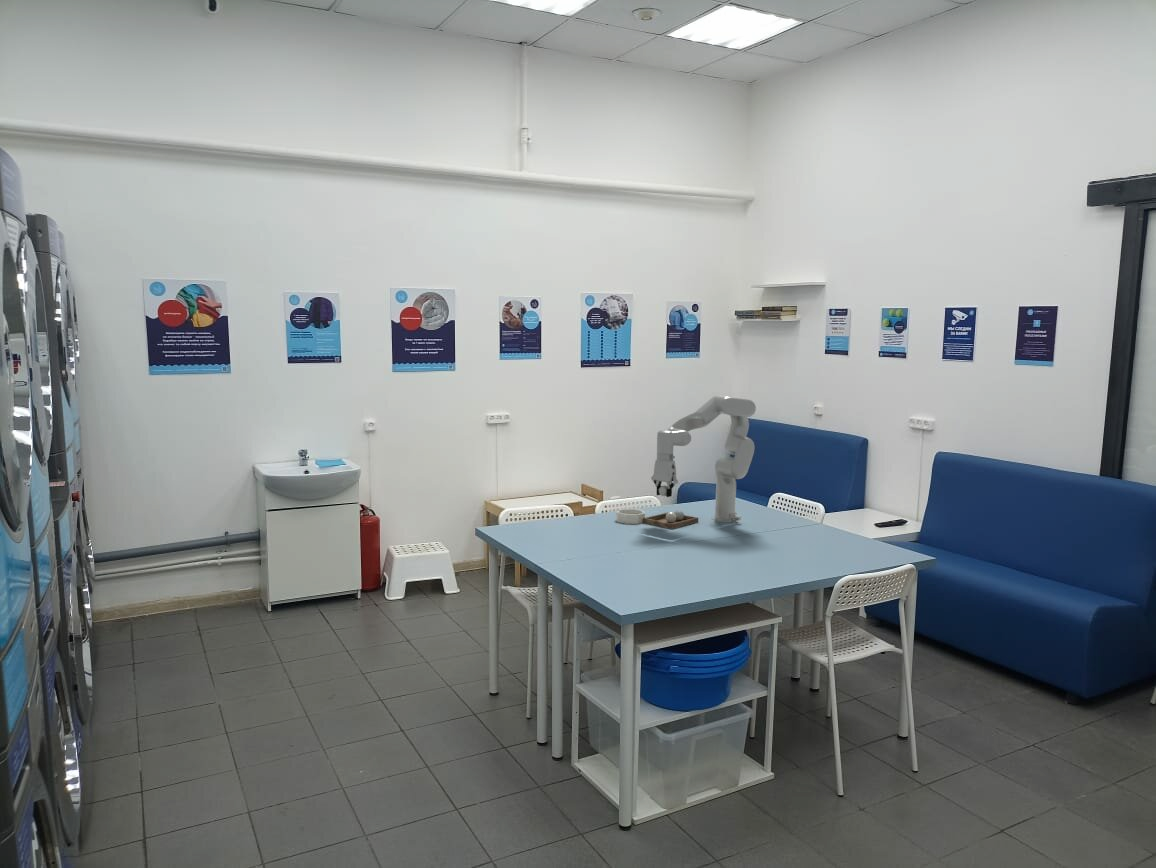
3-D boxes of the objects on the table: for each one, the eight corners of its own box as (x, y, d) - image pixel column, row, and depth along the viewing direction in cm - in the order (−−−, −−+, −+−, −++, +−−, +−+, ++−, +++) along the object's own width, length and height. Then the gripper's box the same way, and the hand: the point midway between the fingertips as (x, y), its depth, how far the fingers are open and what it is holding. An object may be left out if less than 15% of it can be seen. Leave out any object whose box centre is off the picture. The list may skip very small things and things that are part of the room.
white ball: (671, 496, 377) (671, 485, 377) (665, 497, 374) (665, 487, 373) (662, 494, 381) (663, 484, 380) (656, 496, 377) (656, 485, 376)
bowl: (649, 522, 386) (649, 512, 386) (632, 526, 377) (632, 516, 376) (628, 517, 395) (628, 507, 394) (611, 521, 386) (611, 511, 385)
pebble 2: (678, 522, 384) (678, 512, 383) (671, 524, 380) (672, 513, 379) (669, 520, 387) (669, 510, 386) (663, 522, 383) (663, 512, 383)
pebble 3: (685, 520, 388) (686, 510, 388) (679, 522, 385) (680, 511, 384) (677, 518, 392) (677, 508, 391) (671, 520, 388) (671, 510, 388)
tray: (698, 523, 386) (698, 517, 385) (672, 530, 370) (672, 524, 370) (669, 517, 397) (669, 511, 397) (642, 524, 382) (642, 518, 381)
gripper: (684, 458, 372) (683, 497, 374) (655, 454, 383) (654, 492, 386) (675, 460, 367) (674, 499, 369) (645, 455, 378) (644, 494, 380)
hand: (664, 495), depth 377 cm, fingers closed on white ball, 4 cm apart
